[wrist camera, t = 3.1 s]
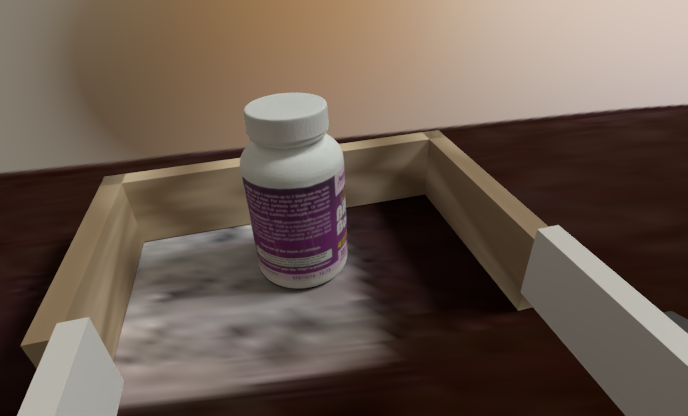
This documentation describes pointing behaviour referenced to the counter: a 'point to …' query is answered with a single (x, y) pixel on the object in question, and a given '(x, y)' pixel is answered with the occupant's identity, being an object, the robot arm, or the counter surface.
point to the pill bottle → (294, 190)
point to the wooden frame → (231, 210)
